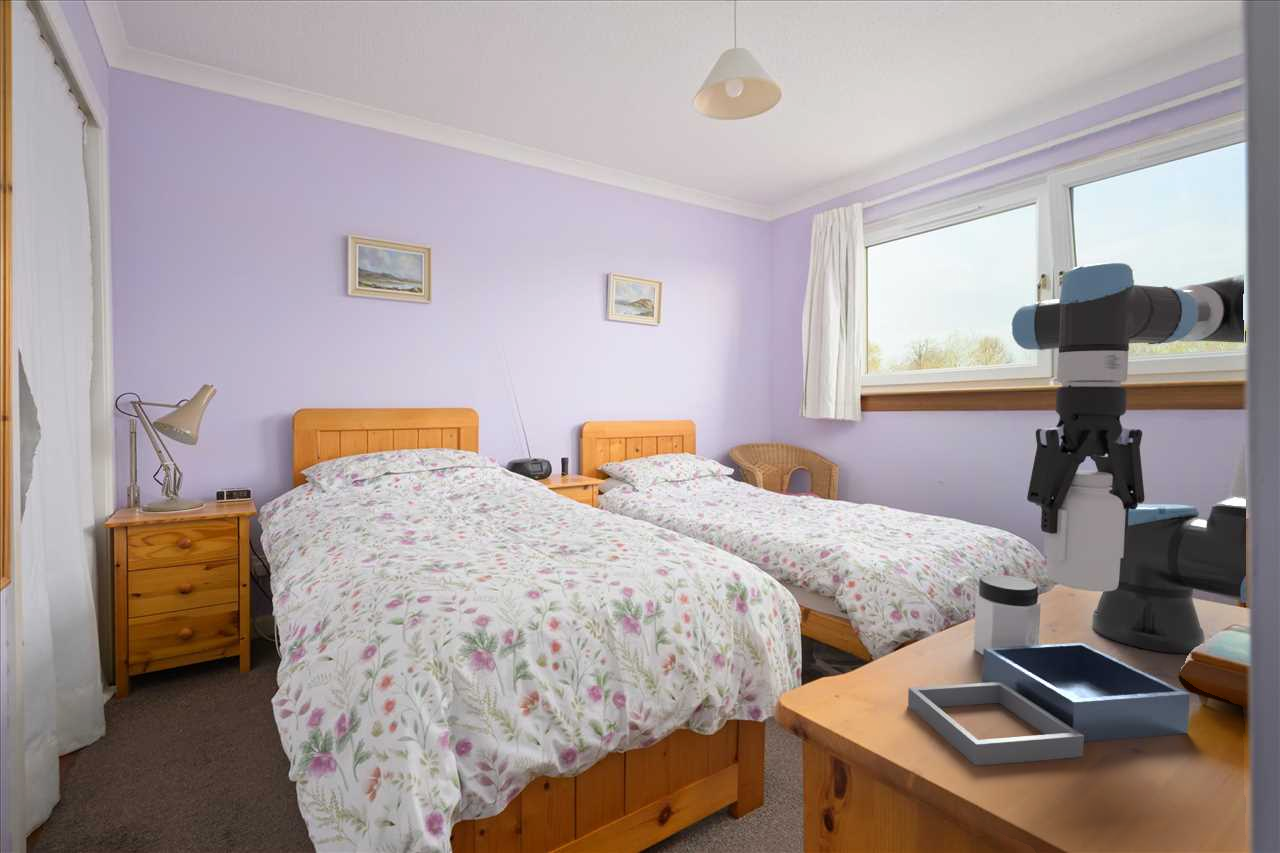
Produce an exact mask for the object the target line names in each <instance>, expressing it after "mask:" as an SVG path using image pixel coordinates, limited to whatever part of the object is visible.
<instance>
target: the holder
mask: <svg viewBox="0 0 1280 853" xmlns="http://www.w3.org/2000/svg"><path fill="white" fill-rule="evenodd" d="M907 695H908V697H907V700H908V701H907V702H908V703H907V706H908V708H910V709H911V710H912V711H913V712H914V713H915V714H917V715H918V716H919V717H920V718H921V719H922V720H924V721H925V723H927V724H928V725H929V726H930V727H931V728H933V729H934V730H935V731H936V732H937V733H938V734H939V735H940V736H942V738H944V739H945V740H946V741H947V742H948V743H949V744H950V745H951V746H953V747H954V748H955V749H956V750H957V751H958V752H960V754H962V756H964V757H965V758H967V760H968V761H970V762H971V763H972V764H973V766H975V767H977V766H978V767H980V766H988V765H990V766H991V765H999V764H1012V763H1024V762H1037V761H1039V762H1040V761H1048V760H1060V759H1071V758H1072V759H1073V758H1083V757H1084V746H1085V745H1084V736H1083V735H1082V734H1080V733H1079V732H1077V731H1076V730H1074V729H1073V728H1071V727H1070V726H1068V725H1067V724H1065V723H1063V722H1062V721H1060V720H1059V719H1057V718H1056V717H1054V716H1053V715H1051V714H1050V713H1048V712H1046V711H1045V710H1043V709H1042V708H1040V707H1039V706H1037V705H1036V704H1034V703H1033V702H1031V701H1030V700H1028V699H1026V698H1025V697H1023V696H1022V695H1020V694H1019V693H1017V692H1016V691H1014V690H1013V689H1011V688H1010V687H1008V686H1006V685H1005V684H1003V683H1002V682H990V683H984V682H977V683H961V684H947V685H945V684H943V685H931V686H917V687H916V686H913V687H908V694H907ZM983 704H986V705H987V704H1000V705H1002V706H1003V707H1004V708H1006V709H1007V710H1009V711H1010V712H1012V713H1013V714H1014V715H1015V716H1017V717H1019V718H1020V719H1022V721H1025V723H1027V724H1029V725H1030V726H1031V727H1032V728H1035V729H1036V730H1037V731H1039V732H1040V733H1042V734H1037V735H1025V736H1024V735H1023V736H1014V737H1013V736H1012V737H999V738H985V739H984V738H983V739H978V738H977V737H975V736H974V735H973V734H972V733H971V732H969V731H968V730H967V729H966V728H964V726H962V725H961V724H959V722H957V721H956V720H955V719H953V718H952V716H949V715H948V714H947V713H946V712H945V711H944V710H942V709H941V708H942V707H957V706H971V705H983Z"/></svg>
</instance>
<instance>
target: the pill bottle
mask: <svg viewBox="0 0 1280 853" xmlns="http://www.w3.org/2000/svg"><path fill="white" fill-rule="evenodd" d="M1112 479H1113V476H1112V474H1110V473H1105V472H1099V471H1098V470H1088V469H1087V470H1084V469H1077V472H1076V474H1075V476H1074V479H1073V481H1072V483H1071V486H1070V488H1069V490H1068V493H1067V495H1066V497H1065V499H1064V502H1063V504H1062V506H1061V508H1060V509H1062V510H1067V525H1066V547H1065V560H1058V559H1055V558H1052V557H1049V556H1046V567H1045V568H1046V577H1047V579H1048V580H1050V581H1052V582H1053V583H1055V584H1058V585H1060V586H1064V587H1067V588H1071V589H1076V590H1082V591H1087V592H1104V591H1113V590H1115V589H1117V587H1118V583H1119V573H1120V557H1121V542H1122V527H1123V512H1124V506H1123V503H1122V501H1121V500H1120V499H1119V498H1118V497H1117V496H1115V495H1113V494H1110V493H1109V490H1112V487H1110V486H1111V485H1112ZM1052 499H1053V497H1052Z"/></svg>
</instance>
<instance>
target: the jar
mask: <svg viewBox="0 0 1280 853" xmlns="http://www.w3.org/2000/svg"><path fill="white" fill-rule="evenodd" d="M978 579H979V580H978V582H979V583H978V593H976V594H975V606H974V607H975V610H974V633H973V636H974V637H973V650H974V651H976V652H977V653H979V654H980V655H982V656H983V650H984V648H995V647H1013V646H1031V645H1040V626H1041V625H1040V623H1041V602H1040V601H1039V600H1038V598H1039V586H1038V585H1037V584H1036V583H1035V582H1033V581H1031V580H1028V579H1025V578H1021V577H1018V576H1017V577H1016V576H1010V575H1004V574H1003V575H1002V574H989V575H982V576H980V578H978Z"/></svg>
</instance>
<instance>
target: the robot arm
mask: <svg viewBox="0 0 1280 853" xmlns="http://www.w3.org/2000/svg"><path fill="white" fill-rule="evenodd" d="M1244 274H1245V273H1244ZM1244 274H1239V275H1234V276H1230V277H1226V278H1222V279H1217V280H1215V281H1209V282H1203V283H1200V284H1189V285H1184V286H1182V287H1178V288H1173V287H1172V286H1171V287H1170V286H1169V287H1168V286H1167V285H1162V286H1151V285H1140V284H1139V285H1138V284H1135V279H1134V274H1133V269H1132V267H1131V266H1130V265H1129V264H1128V263H1127V264H1126V263H1124V262H1123V263H1121V262H1106V263H1105V262H1103V263H1095V264H1094V263H1093V264H1085V265H1082V266H1076V267H1073V268H1071V269H1069V270H1067V271H1065V273H1064V274H1063V277H1062V282H1061V290H1060V297H1059V299H1051V300H1039V301H1037V302H1032V303H1028V304H1025V305H1024V304H1023V305H1022V306H1021V307H1019V308H1018V310H1016V312H1015V314H1014V316H1013V318H1012V321H1011V329H1012V330H1011V333H1012V337H1013V339H1014V341H1015V343H1016V344H1017V345H1018V346H1019V347H1021V348H1022V349H1024V350H1039V351H1045V350H1053V349H1055V350H1056V349H1058V353H1057V367H1056V368H1057V371H1056V382H1058V383H1061V387H1058V388H1057V389H1056V391H1055V392H1056V396H1055V412H1056V414H1058V415H1059V420H1058V422H1057V424H1056V427H1051V428H1037V429H1036V431H1035V439H1036V451H1035V456H1034V462H1033V467H1032V471H1031V476H1030V480H1029V485H1028V492H1027V497H1026V499H1027V501H1028V502H1030V503H1033V504H1035V505H1036V506H1039V507H1041V517H1040V518H1041V519H1040V520H1041V521H1040V523H1041V524H1040V528H1041V531H1042V532H1044V536H1043V537H1044V541H1043V556H1046V557H1047V556H1049V557H1052V558H1055V559H1058V560H1065V547H1066V525H1067V510H1062V509H1060V508H1061V506H1062V504H1063V502H1064V499H1065V497H1066V495H1067V493H1068V490H1069V488H1070V486H1071V483H1072V481H1073V479H1074V476H1075V474H1076V472H1077V470H1079V466H1080V465H1081V464H1082V463H1084V462H1085V461H1086V458H1087V457H1089V458H1090V459H1091V460H1092V461H1093V462H1094V464H1095V466H1096V469H1097V470H1096V471H1099V472H1105V473H1110V474H1112V476H1113V479H1112V485H1111V486H1110V487H1112V490H1109V493H1110V494H1113V495H1115V496H1117V497H1118V498H1119V499H1120V500H1121V501H1122V503H1123V506H1124V512H1123V527H1122V542H1121V557H1120V573H1119V583H1118V587H1117V589H1115V590H1113V591H1102V595H1100V599H1099V601H1098V603H1097V606H1096V609H1094V611H1093V613H1092V622H1091V625H1092V629H1093V630H1094V631H1095V632H1097V633H1098V634H1100V635H1102V636H1103V637H1106V638H1108V639H1110V640H1112V641H1116V642H1118V643H1121V644H1125V645H1128V646H1132V647H1135V648H1140V649H1144V650H1149V651H1154V652H1163V653H1167V654H1168V653H1169V654H1170V653H1171V654H1192V653H1191V651H1192V650H1193V649H1194V648H1195V647H1197V646H1199V645H1200V644H1202V643H1204V644H1205V639H1206V638H1205V637H1206V636H1205V632H1204V630H1203V628H1202V627H1201V624H1200V620H1199V617H1198V613H1197V608H1196V606H1195V604H1194V603H1195V602H1194V599H1193V596H1194V595H1193V594H1194V590H1196V591H1200V592H1204V593H1207V594H1211V595H1215V596H1219V597H1222V598H1227V599H1230V600H1235V601H1239V602H1242V603H1244V604H1247V600H1246V477H1245V437H1244V438H1243V441H1242V442H1243V443H1242V445H1241V450H1240V453H1239V457H1238V460H1237V464H1236V468H1235V472H1234V475H1233V479H1232V482H1231V487H1230V490H1229V493H1228V497H1227V498H1226V499H1223V500H1221V501H1218V502H1217V503H1214V504H1213V505H1212V506H1211V510H1210V515H1209V517H1208V518H1206V517H1201V516H1200V517H1199V515H1200V513H1199V511H1198V508H1197V507H1196V506H1193V505H1187V504H1170V503H1169V504H1168V503H1167V504H1165V503H1161V504H1159V503H1152V504H1151V503H1145V504H1144V502H1145V489H1144V480H1143V479H1144V478H1143V477H1144V476H1143V469H1142V466H1143V465H1142V458H1141V449H1140V448H1141V443H1142V438H1143V431H1142V430H1141V429H1138V428H1137V429H1136V428H1124V427H1123V426H1122V423H1121V420H1120V418H1121V416H1123V415H1125V414H1126V412H1127V398H1128V395H1127V394H1128V390H1127V389H1126V387H1124V386H1123V387H1121V385H1122V384H1123V383H1126V382H1127V381H1128V373H1129V372H1128V370H1129V369H1128V368H1129V352H1130V351H1129V350H1130V346H1129V345H1130V344H1143V343H1144V344H1146V343H1147V344H1148V345H1156V344H1158V345H1160V344H1169V343H1170V344H1171V343H1174V342H1176V341H1180V342H1186V343H1187V342H1218V343H1220V342H1221V343H1242V344H1243V343H1244V320H1243V294H1244ZM1245 344H1247V343H1246V331H1245ZM1052 497H1053V499H1052ZM1142 503H1143V504H1142Z"/></svg>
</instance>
